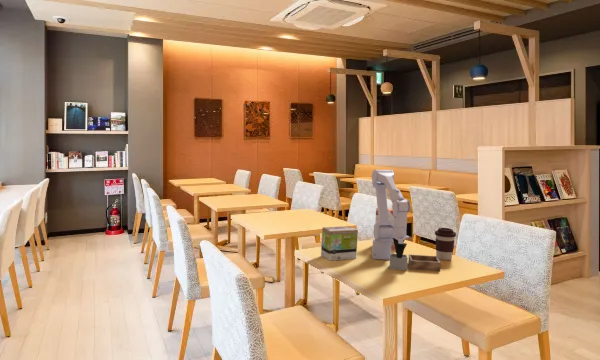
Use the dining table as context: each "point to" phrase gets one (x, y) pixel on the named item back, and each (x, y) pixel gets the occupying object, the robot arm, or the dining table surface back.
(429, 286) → the dining table surface
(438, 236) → the coffee cup
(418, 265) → the walnut crate
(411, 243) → the dining table surface
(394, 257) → the grey crate
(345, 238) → the tea box
